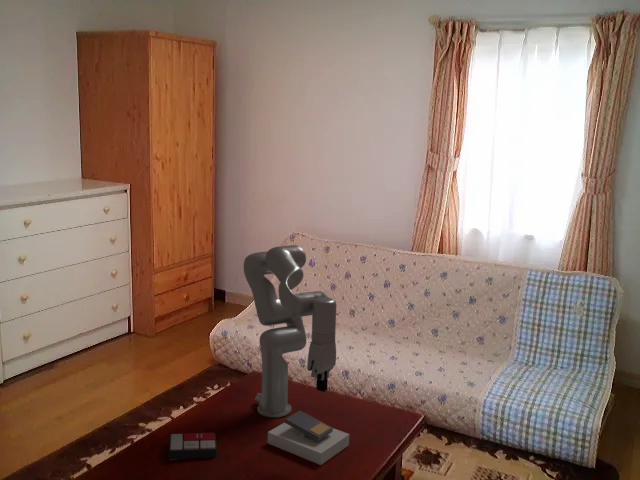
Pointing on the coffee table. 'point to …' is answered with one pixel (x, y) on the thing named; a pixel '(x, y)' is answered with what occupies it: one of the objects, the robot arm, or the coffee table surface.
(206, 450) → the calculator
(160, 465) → the coffee table surface
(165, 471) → the coffee table surface
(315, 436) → the rocker switch
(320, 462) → the switch box
